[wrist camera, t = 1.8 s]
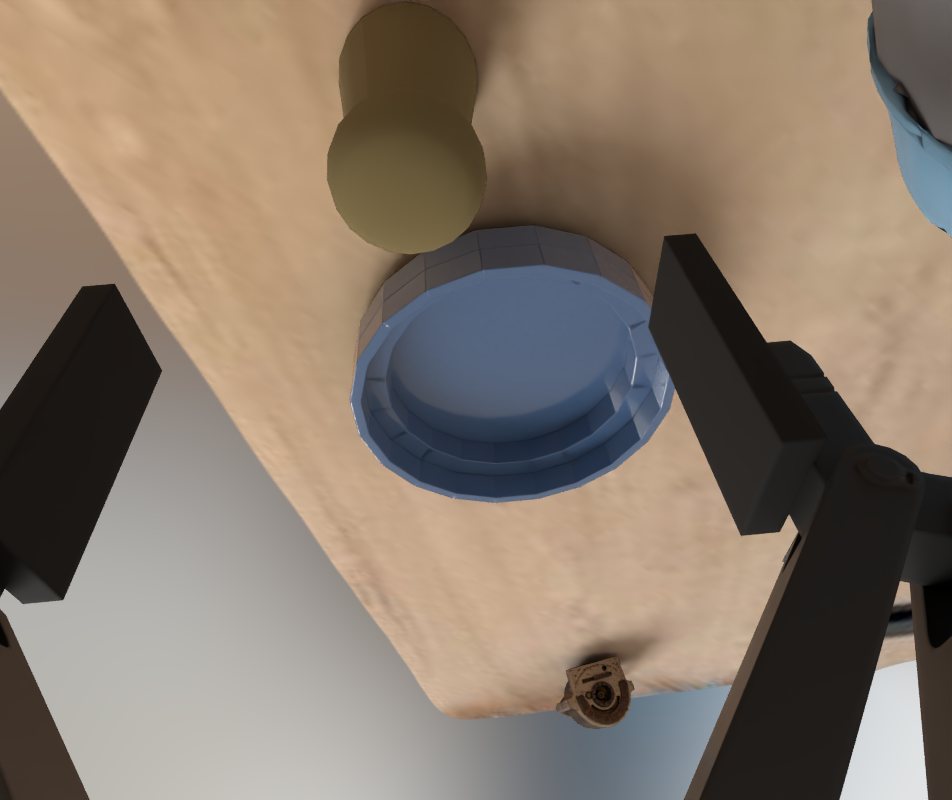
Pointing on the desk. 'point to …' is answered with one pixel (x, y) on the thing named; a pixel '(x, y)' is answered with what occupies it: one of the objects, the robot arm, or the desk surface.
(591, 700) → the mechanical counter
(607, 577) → the desk surface
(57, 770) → the robot arm
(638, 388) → the bowl
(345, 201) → the olive peg doll
